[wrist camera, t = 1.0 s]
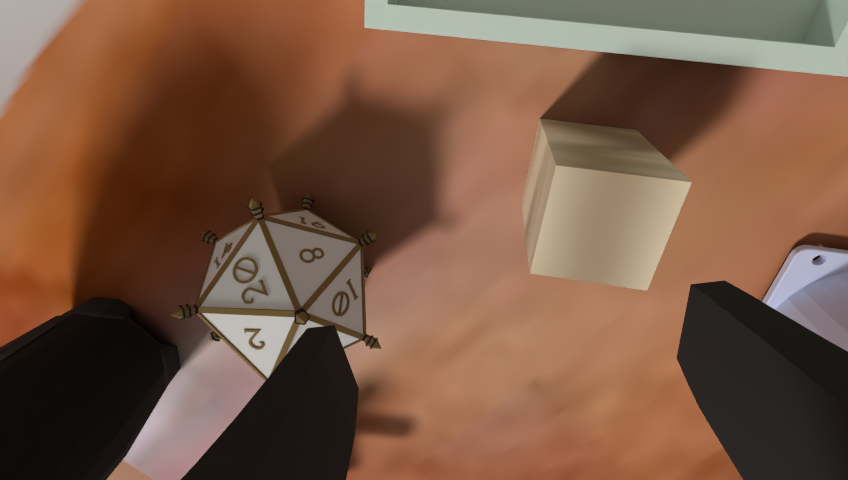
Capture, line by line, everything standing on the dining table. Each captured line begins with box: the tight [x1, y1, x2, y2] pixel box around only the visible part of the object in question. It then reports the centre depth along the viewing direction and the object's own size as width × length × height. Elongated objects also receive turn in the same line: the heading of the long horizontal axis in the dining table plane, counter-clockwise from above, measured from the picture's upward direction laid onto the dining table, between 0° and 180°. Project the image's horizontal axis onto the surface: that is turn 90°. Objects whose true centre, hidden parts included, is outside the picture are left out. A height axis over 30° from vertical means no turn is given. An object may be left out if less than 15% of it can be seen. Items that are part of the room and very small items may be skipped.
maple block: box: [522, 119, 692, 290], centre depth 17 cm, size 4×4×6 cm
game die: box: [170, 194, 381, 381], centre depth 20 cm, size 9×8×10 cm
